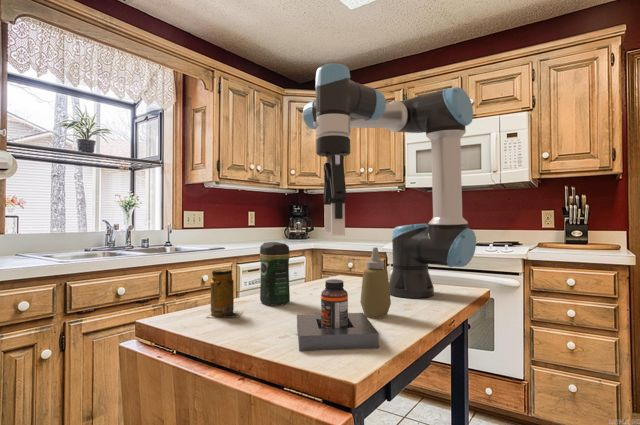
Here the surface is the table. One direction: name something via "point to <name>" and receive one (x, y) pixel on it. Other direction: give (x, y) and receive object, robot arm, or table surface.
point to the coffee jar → (274, 273)
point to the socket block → (336, 334)
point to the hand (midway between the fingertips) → (333, 233)
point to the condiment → (222, 295)
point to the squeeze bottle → (375, 288)
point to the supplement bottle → (334, 305)
